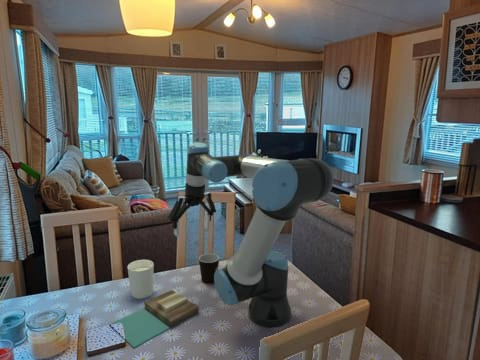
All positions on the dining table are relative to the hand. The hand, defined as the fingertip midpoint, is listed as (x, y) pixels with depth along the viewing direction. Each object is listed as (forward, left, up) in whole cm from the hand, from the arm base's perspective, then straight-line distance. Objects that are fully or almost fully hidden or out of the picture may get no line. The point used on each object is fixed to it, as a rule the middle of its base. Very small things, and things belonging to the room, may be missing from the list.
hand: (191, 231), depth 136 cm
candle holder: (+9, +18, -23) cm, 31 cm away
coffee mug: (-2, -9, -23) cm, 25 cm away
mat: (-9, +30, -23) cm, 39 cm away
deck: (-9, +17, -23) cm, 30 cm away
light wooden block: (-9, +17, -21) cm, 28 cm away
